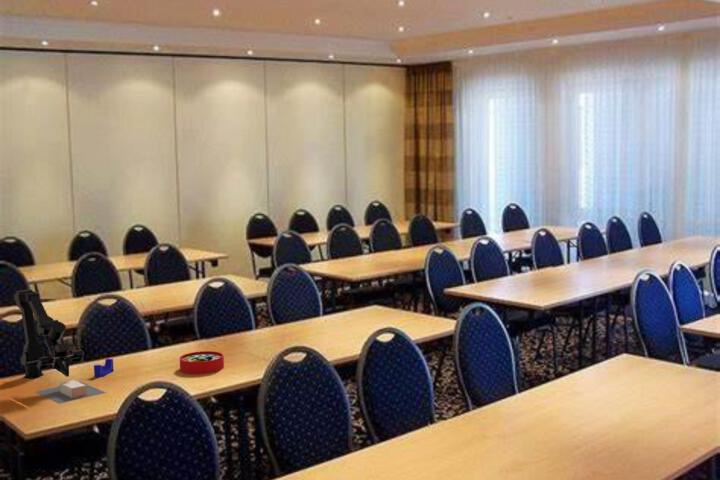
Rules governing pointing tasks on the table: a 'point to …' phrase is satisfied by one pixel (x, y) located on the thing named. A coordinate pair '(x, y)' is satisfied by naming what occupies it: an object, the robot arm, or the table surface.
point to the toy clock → (201, 362)
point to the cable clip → (104, 368)
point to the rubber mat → (62, 398)
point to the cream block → (73, 389)
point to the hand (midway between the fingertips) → (67, 376)
